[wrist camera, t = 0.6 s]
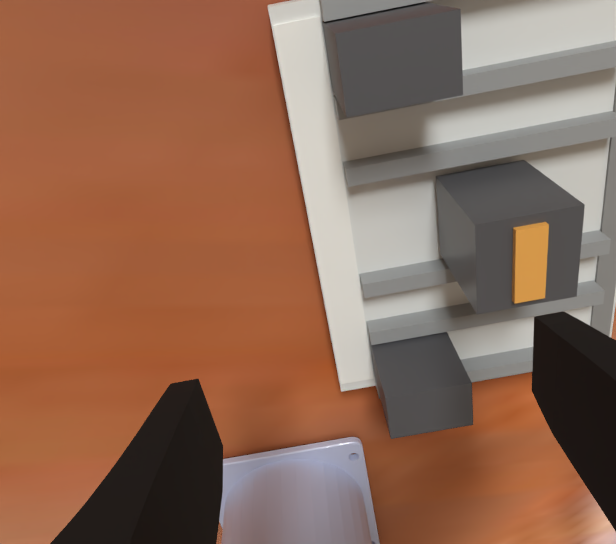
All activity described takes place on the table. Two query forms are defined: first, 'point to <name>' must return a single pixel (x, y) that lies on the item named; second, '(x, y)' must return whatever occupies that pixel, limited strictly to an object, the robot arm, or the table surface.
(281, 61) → the panel
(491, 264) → the block
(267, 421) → the table surface
